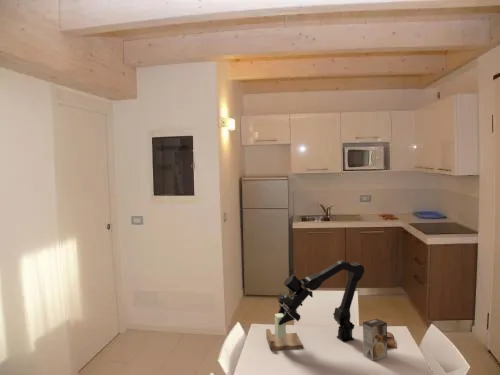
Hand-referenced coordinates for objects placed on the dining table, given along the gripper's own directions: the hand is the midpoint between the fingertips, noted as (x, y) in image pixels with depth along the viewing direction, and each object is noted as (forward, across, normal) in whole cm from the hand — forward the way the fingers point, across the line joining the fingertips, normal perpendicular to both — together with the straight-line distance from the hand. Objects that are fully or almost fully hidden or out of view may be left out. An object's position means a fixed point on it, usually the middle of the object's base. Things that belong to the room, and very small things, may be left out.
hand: (277, 322), depth 190 cm
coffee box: (-20, +20, +38) cm, 47 cm away
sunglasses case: (-29, +7, +48) cm, 57 cm away
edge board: (+6, -4, +12) cm, 14 cm away
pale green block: (+4, 0, +6) cm, 7 cm away
